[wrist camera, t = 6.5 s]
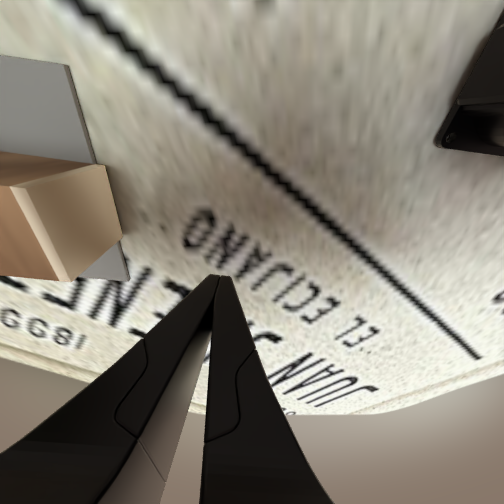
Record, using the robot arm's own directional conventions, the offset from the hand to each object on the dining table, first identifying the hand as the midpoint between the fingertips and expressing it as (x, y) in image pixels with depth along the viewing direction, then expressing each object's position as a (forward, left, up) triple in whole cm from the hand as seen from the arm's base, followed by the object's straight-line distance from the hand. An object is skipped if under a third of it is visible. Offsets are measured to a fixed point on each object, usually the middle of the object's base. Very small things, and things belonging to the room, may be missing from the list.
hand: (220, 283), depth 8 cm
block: (+8, 0, -4) cm, 9 cm away
